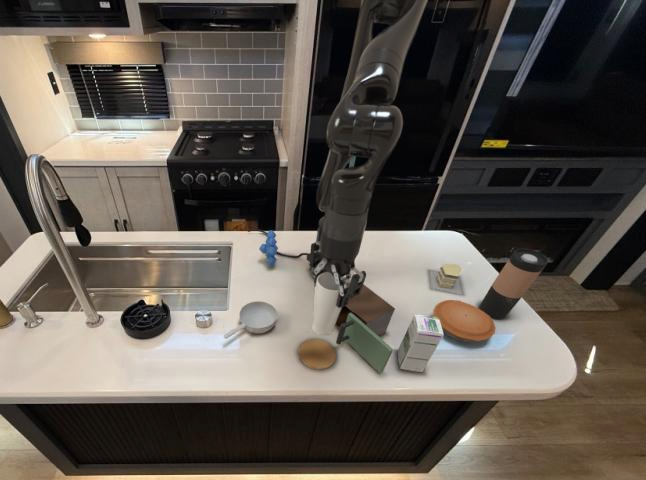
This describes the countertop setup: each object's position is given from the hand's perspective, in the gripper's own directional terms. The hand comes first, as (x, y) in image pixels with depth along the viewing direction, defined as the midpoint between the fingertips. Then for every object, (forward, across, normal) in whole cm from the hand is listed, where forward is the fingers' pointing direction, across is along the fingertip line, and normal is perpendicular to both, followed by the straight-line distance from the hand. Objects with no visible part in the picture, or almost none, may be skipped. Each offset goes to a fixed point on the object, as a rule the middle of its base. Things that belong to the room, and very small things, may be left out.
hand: (329, 295), depth 69 cm
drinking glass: (+11, 0, 0) cm, 11 cm away
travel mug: (+21, -14, -56) cm, 61 cm away
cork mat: (+21, 0, 0) cm, 21 cm away
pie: (+21, -13, -41) cm, 48 cm away
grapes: (+21, +42, -11) cm, 48 cm away
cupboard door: (+20, -6, -8) cm, 22 cm away
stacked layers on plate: (+21, +2, -56) cm, 60 cm away
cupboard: (+21, +4, -16) cm, 26 cm away
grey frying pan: (+21, +17, +11) cm, 29 cm away
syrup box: (+21, -14, -19) cm, 31 cm away
